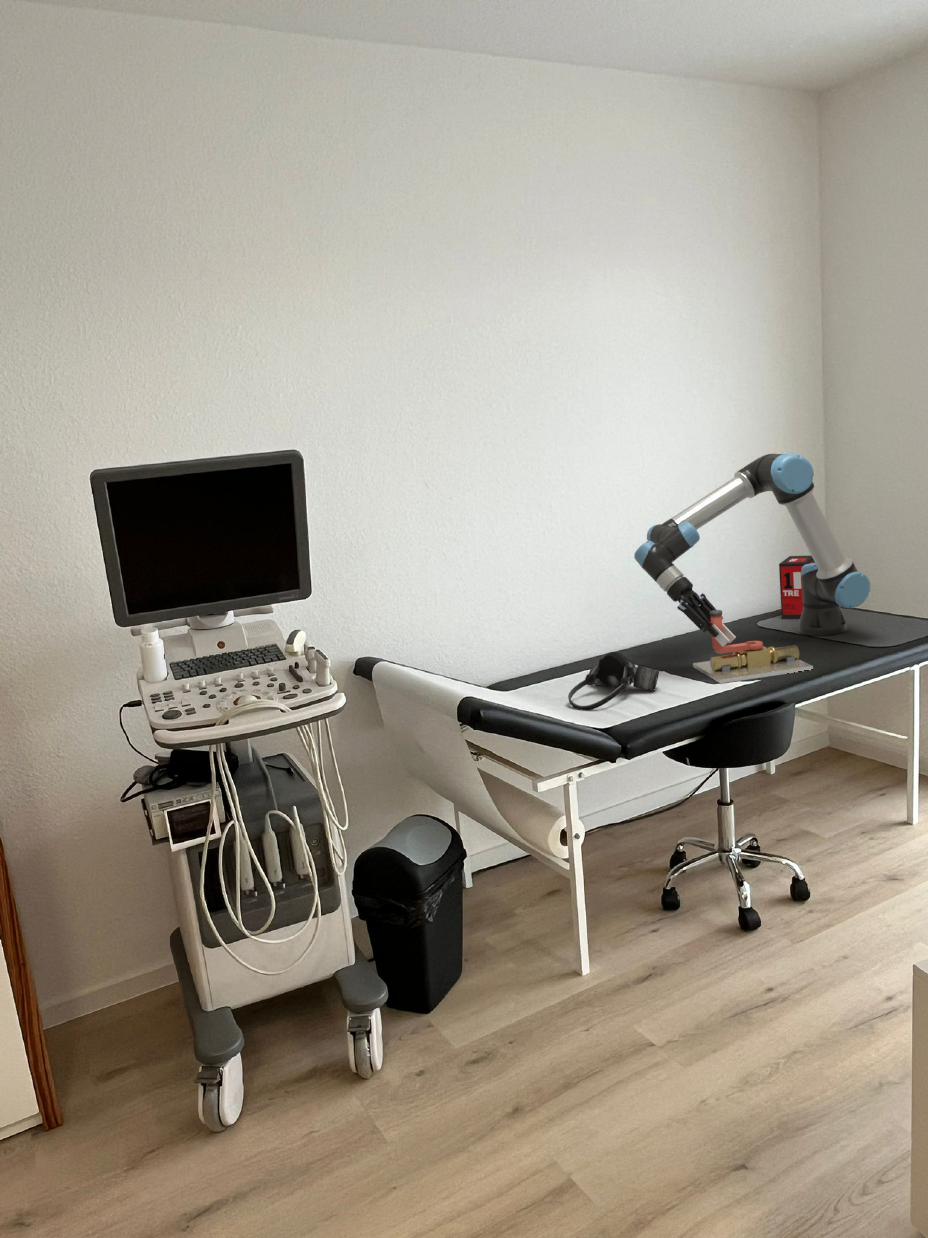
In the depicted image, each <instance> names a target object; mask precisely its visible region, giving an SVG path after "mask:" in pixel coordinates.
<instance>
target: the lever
mask: <svg viewBox="0 0 928 1238" xmlns="http://www.w3.org/2000/svg"><path fill="white" fill-rule="evenodd" d="M710 616H711V623H712V625H713V624H715V625H716V626H717V627H718V628H719V629H720V631H721V632H722V633H723V627H722V623H723V619H722V617H723V610H721V609H716V610H712V611H710ZM712 625H711V626H712ZM711 643H712V644H711V647H712V649H713V650H714V653H716V654H717V655H722V654H723V655H724V654H728V653H730V654H731V653H733V652H739V651H745V650H758V649H762V648H763V646H764V643H763V641H761V640H750V641H749V640H748V641H745V642H742V643H735V644H728V645H727V644H726V645H725V646H724V647H722V645H721V644H720V643H719V642H718V641H717V640H716V639H715V638H714V637H713V636H712V635H711Z"/></svg>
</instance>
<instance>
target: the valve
mask: <svg viewBox="0 0 928 1238" xmlns="http://www.w3.org/2000/svg"><path fill="white" fill-rule="evenodd" d="M731 653H732V654H731ZM731 653H730V654H723V655H719V656H718V655H717V656H711V657H710V659H709V660H708V661H707V660H705V661H701V662H694V663H692V666H693V668H694V669H696V670H697V671H699V672H701V673H702V674H704V675H706V676H707V677H709V678H710V679H712V680H714V681H716V682H717V683H719V684H726V683H733V682H734V683H735V682H740V681H741V682H742V681H746V680H747V681H748V680H755V679H761V678H766V677H774V676H782V675H787V673H789V674H794V672H795V673H799V672H798V671H802V672H805V671H804V670H809V671H812V670H811V669H813V670H814V665H812V664H811V663H807V662H806V661H803V660H801V659H799V657H800V650H799V647H798V646H797V645H795V644H794V645H788V646H787V645H786V646H782V647H781V646H780V647H775V646H774V645H773V646H768V647H766V646H765V645H763V648H762V649H758V650H745V651H737V652H731Z"/></svg>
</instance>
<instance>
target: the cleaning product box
mask: <svg viewBox="0 0 928 1238" xmlns="http://www.w3.org/2000/svg"><path fill="white" fill-rule="evenodd" d="M811 563H815V561H814V560H813V558H812V556H811V555H789V556H788V557H786V558H785V559H783V560H782V561H781V562H780V563H778V569H779V570H778V572H779V574H778V575H779V590H780V591H779V593H780V608H781V609H780V610H781V611H780V613H781V620H800V617H801V614H802V611H803V598H802V578H801V570H802V567H803V566H804V565H806V564H811Z"/></svg>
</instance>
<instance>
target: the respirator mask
mask: <svg viewBox="0 0 928 1238" xmlns="http://www.w3.org/2000/svg"><path fill="white" fill-rule="evenodd" d="M659 674H660V671H659V669H654V668H652V667H651V668H650V667H647V666H644V665H637V667H636V665H635V663H634V662H633V660H631V659H630V658H628V657H627V656H625V655H624V654H622V653H620V652H617V651H611V652H608V653H607V654H606V655H605V656H604V657H601V658H600V659H599V661H598V663H597V664H596V663H595V664H594V665H592V667H590V669H589V673H587V674H586V675H585V678H584V680H582V681H581V682H579V683H578V684H576V685H575V686H574V687H573V688H572V689H571V690H570V691H569V693H568V696H567V697H568V698H567V699H568V702H569V704H570V706H572V708H574V709H576V708H578V709H577V710H580V709H582V710H583V711H592V710H594V709H597V708H600V707H602V706H604V705H605V704H607V703H608V702H610V701H611V700H613V699H614V698H615V697H617V696H618V695H619V694H620V693H621V692H622V691H624V690H629V688H630V686H631V685H632V686H633V688H637V689H640V690H641V689H643V690H644V691H651V692H654V691H655V690H656V688H657V683H658V680H659ZM593 685H595V686H608V687H612V688H614V689H615V690H613V691H612V692H611V693H609V694H608V695H607V696H605V697H603V698H602V699H600V700H598V701H596V702H593V703H592V704H587V705H579V704H577V703H575V702H574V701H573V700H572V698H573V696H574V695H575V694H576V693H577V692H578V691H579V690H581V689H582V688H583V687H585V686H591V687H592V686H593ZM654 689H655V690H654Z"/></svg>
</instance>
